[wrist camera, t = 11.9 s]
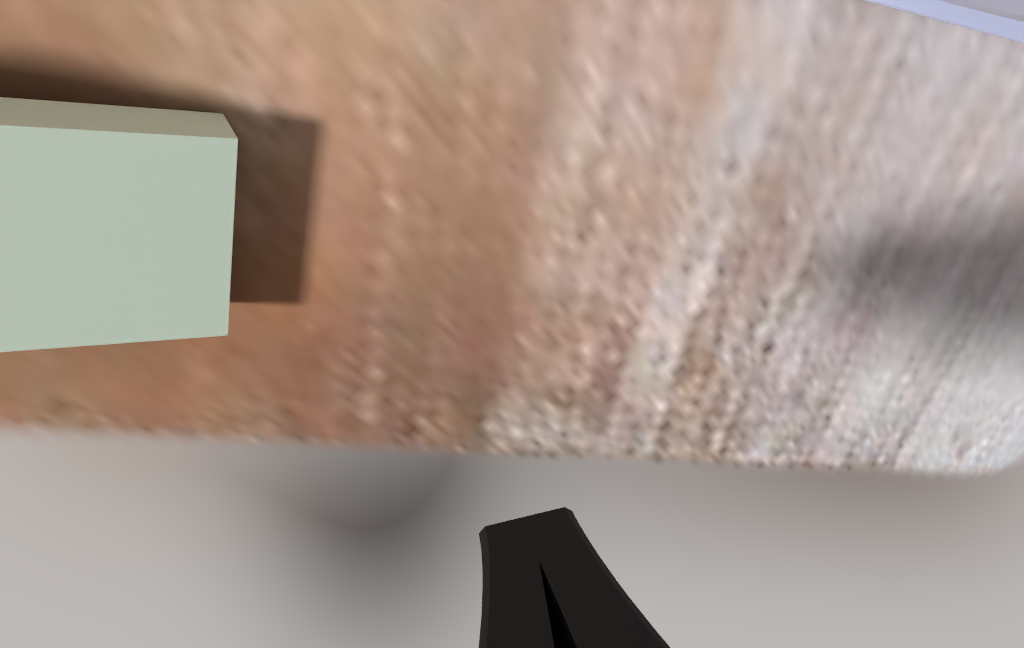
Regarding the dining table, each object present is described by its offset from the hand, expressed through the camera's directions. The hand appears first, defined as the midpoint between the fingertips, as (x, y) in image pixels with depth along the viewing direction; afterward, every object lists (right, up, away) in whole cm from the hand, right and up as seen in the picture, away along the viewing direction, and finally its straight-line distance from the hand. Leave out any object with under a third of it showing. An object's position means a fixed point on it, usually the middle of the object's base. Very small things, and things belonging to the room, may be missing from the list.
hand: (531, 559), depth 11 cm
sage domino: (-7, +6, +6) cm, 11 cm away
